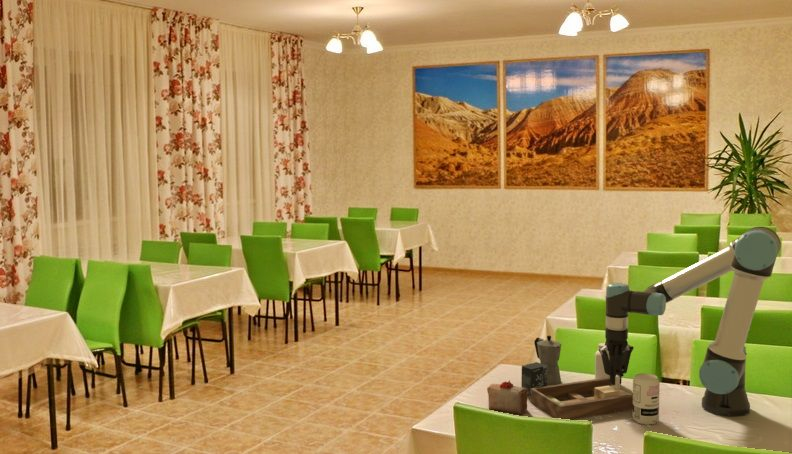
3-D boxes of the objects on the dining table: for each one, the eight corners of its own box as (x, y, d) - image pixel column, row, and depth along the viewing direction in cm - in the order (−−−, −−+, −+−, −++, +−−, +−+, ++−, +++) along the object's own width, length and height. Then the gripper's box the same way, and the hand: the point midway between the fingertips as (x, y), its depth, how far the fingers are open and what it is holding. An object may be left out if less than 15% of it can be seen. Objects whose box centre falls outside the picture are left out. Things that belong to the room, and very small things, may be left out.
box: (531, 397, 268) (531, 369, 267) (521, 393, 272) (520, 365, 271) (547, 392, 272) (547, 365, 271) (536, 388, 277) (536, 361, 276)
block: (619, 401, 255) (619, 390, 255) (604, 404, 253) (604, 392, 253) (608, 396, 261) (609, 385, 261) (594, 398, 259) (594, 387, 259)
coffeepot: (569, 383, 282) (569, 337, 280) (549, 387, 278) (549, 341, 276) (544, 373, 295) (544, 329, 293) (525, 376, 291) (525, 332, 289)
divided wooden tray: (646, 407, 255) (646, 393, 254) (560, 421, 244) (560, 406, 243) (611, 389, 274) (611, 376, 273) (530, 402, 263) (530, 388, 262)
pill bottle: (590, 380, 285) (591, 342, 283) (608, 378, 287) (609, 340, 286) (602, 386, 277) (602, 348, 276) (620, 384, 280) (621, 345, 278)
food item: (484, 410, 256) (484, 382, 255) (493, 402, 263) (493, 376, 262) (521, 416, 249) (521, 388, 248) (529, 409, 256) (529, 381, 255)
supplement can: (638, 414, 249) (638, 371, 247) (662, 419, 243) (663, 375, 242) (628, 421, 242) (629, 377, 241) (653, 427, 237) (654, 382, 236)
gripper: (625, 323, 261) (624, 387, 264) (594, 327, 257) (593, 392, 260) (639, 328, 254) (637, 394, 257) (606, 332, 250) (605, 399, 253)
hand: (615, 393), depth 258 cm, fingers closed
